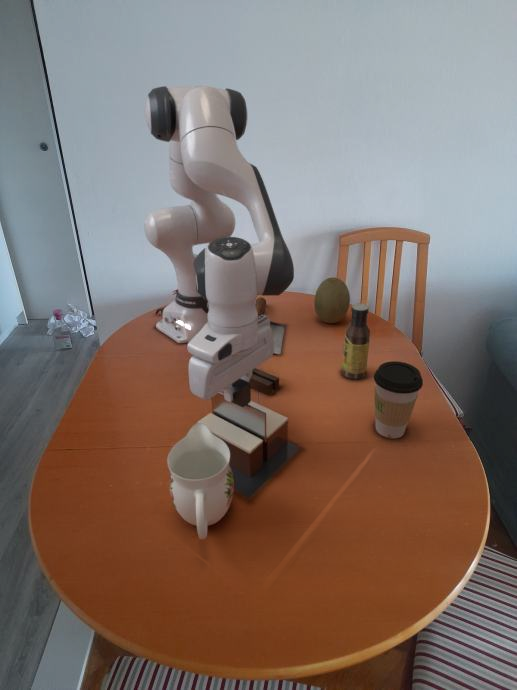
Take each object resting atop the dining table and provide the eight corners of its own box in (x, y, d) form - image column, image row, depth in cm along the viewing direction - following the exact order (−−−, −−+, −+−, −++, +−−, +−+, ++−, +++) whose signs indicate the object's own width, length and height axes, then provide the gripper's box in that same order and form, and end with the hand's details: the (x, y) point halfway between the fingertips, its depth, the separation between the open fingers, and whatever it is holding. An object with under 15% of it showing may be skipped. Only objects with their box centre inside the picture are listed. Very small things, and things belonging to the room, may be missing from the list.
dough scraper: (209, 418, 93) (205, 372, 88) (217, 412, 95) (213, 366, 89) (262, 445, 86) (261, 397, 80) (269, 439, 87) (269, 391, 82)
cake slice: (199, 446, 94) (196, 422, 90) (212, 436, 96) (210, 412, 93) (250, 477, 86) (249, 451, 83) (263, 465, 89) (262, 440, 86)
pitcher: (170, 565, 71) (159, 505, 64) (176, 480, 86) (168, 425, 80) (239, 558, 72) (235, 498, 65) (232, 475, 87) (229, 420, 81)
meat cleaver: (280, 354, 128) (280, 342, 126) (241, 352, 129) (241, 340, 127) (287, 307, 157) (288, 296, 155) (255, 306, 158) (255, 295, 156)
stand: (221, 374, 119) (220, 364, 118) (232, 367, 122) (231, 357, 121) (268, 395, 110) (268, 385, 109) (279, 387, 113) (279, 377, 112)
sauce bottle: (344, 366, 122) (350, 299, 112) (367, 370, 120) (375, 302, 110) (338, 378, 117) (345, 309, 107) (362, 383, 115) (371, 312, 105)
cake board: (175, 453, 93) (171, 426, 89) (229, 413, 104) (228, 388, 101) (249, 500, 82) (248, 471, 78) (300, 449, 93) (301, 422, 90)
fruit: (314, 312, 152) (317, 270, 145) (348, 315, 150) (352, 272, 143) (311, 327, 142) (313, 283, 135) (347, 330, 140) (351, 285, 133)
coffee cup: (382, 409, 105) (390, 354, 97) (421, 428, 99) (433, 371, 91) (358, 429, 99) (365, 372, 92) (398, 450, 93) (408, 391, 85)
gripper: (256, 307, 88) (257, 366, 95) (179, 348, 74) (187, 414, 81) (281, 315, 85) (281, 376, 92) (206, 360, 71) (212, 427, 78)
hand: (236, 394), depth 86 cm, fingers closed on dough scraper, 2 cm apart
